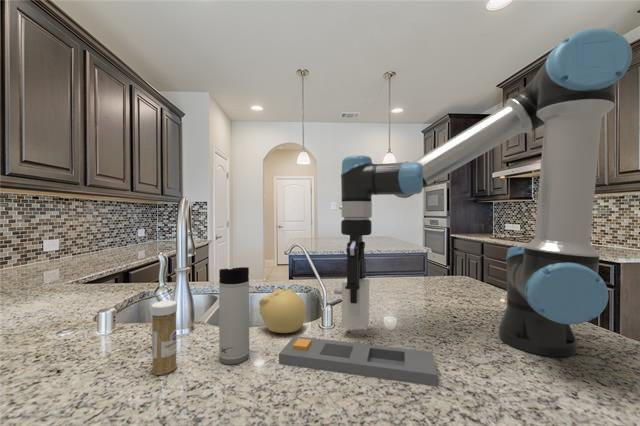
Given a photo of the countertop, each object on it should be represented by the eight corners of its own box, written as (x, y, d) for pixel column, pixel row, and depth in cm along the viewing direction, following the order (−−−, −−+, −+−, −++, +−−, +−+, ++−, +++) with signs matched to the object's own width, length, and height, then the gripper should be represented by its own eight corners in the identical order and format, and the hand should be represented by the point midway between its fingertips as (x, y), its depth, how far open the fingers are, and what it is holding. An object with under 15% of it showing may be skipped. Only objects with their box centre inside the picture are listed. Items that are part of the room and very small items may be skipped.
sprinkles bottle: (173, 374, 58) (173, 305, 58) (148, 377, 57) (147, 307, 57) (179, 362, 63) (179, 298, 63) (155, 365, 62) (155, 300, 62)
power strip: (432, 366, 61) (432, 347, 61) (437, 391, 52) (437, 370, 52) (294, 349, 69) (294, 332, 69) (278, 368, 60) (278, 349, 60)
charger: (368, 322, 76) (369, 279, 76) (366, 329, 72) (366, 283, 72) (336, 319, 79) (336, 277, 79) (332, 326, 74) (332, 281, 74)
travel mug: (222, 368, 60) (222, 269, 60) (217, 354, 66) (216, 264, 66) (252, 361, 63) (252, 267, 63) (245, 349, 69) (245, 262, 69)
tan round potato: (286, 318, 89) (286, 282, 89) (314, 329, 81) (314, 289, 81) (253, 328, 81) (253, 289, 81) (280, 342, 73) (280, 298, 73)
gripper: (347, 218, 84) (347, 300, 84) (333, 219, 67) (333, 323, 67) (374, 218, 82) (374, 302, 82) (367, 219, 65) (366, 326, 65)
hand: (356, 311), depth 75 cm, fingers closed on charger, 5 cm apart
